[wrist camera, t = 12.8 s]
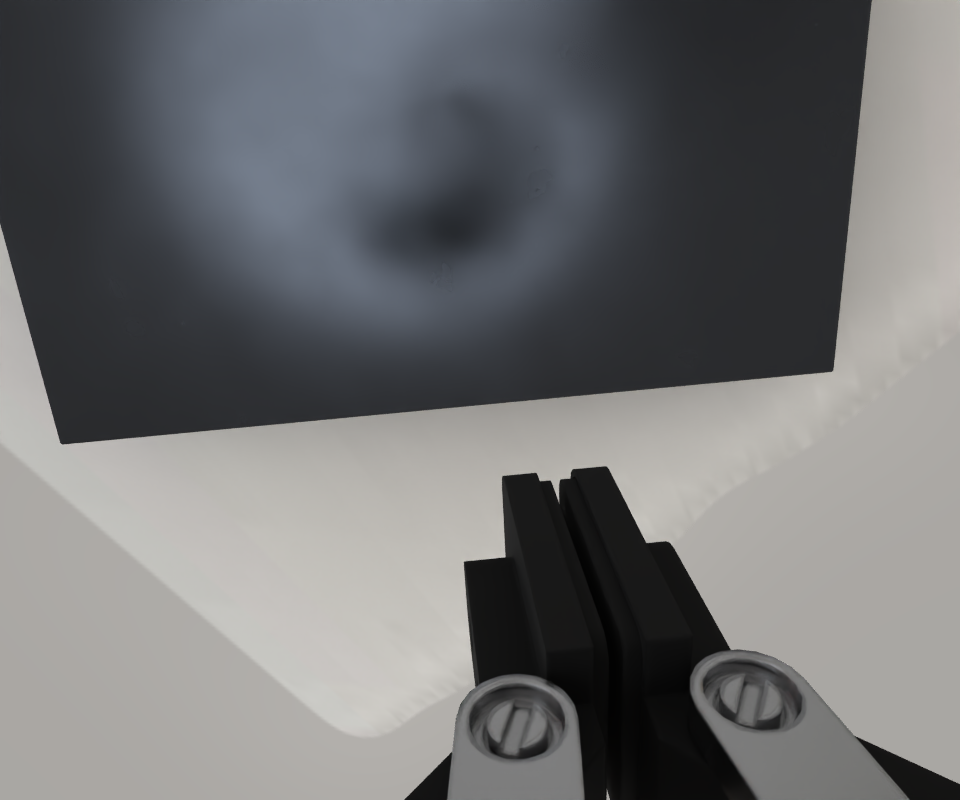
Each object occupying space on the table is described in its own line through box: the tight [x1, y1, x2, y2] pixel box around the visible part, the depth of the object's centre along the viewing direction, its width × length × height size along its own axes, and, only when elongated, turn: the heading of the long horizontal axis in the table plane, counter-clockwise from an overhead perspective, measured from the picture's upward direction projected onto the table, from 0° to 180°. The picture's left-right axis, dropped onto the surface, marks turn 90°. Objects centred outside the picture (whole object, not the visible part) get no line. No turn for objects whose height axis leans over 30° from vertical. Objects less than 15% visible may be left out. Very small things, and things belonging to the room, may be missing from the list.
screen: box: [0, 0, 872, 444], centre depth 26 cm, size 22×30×1 cm
